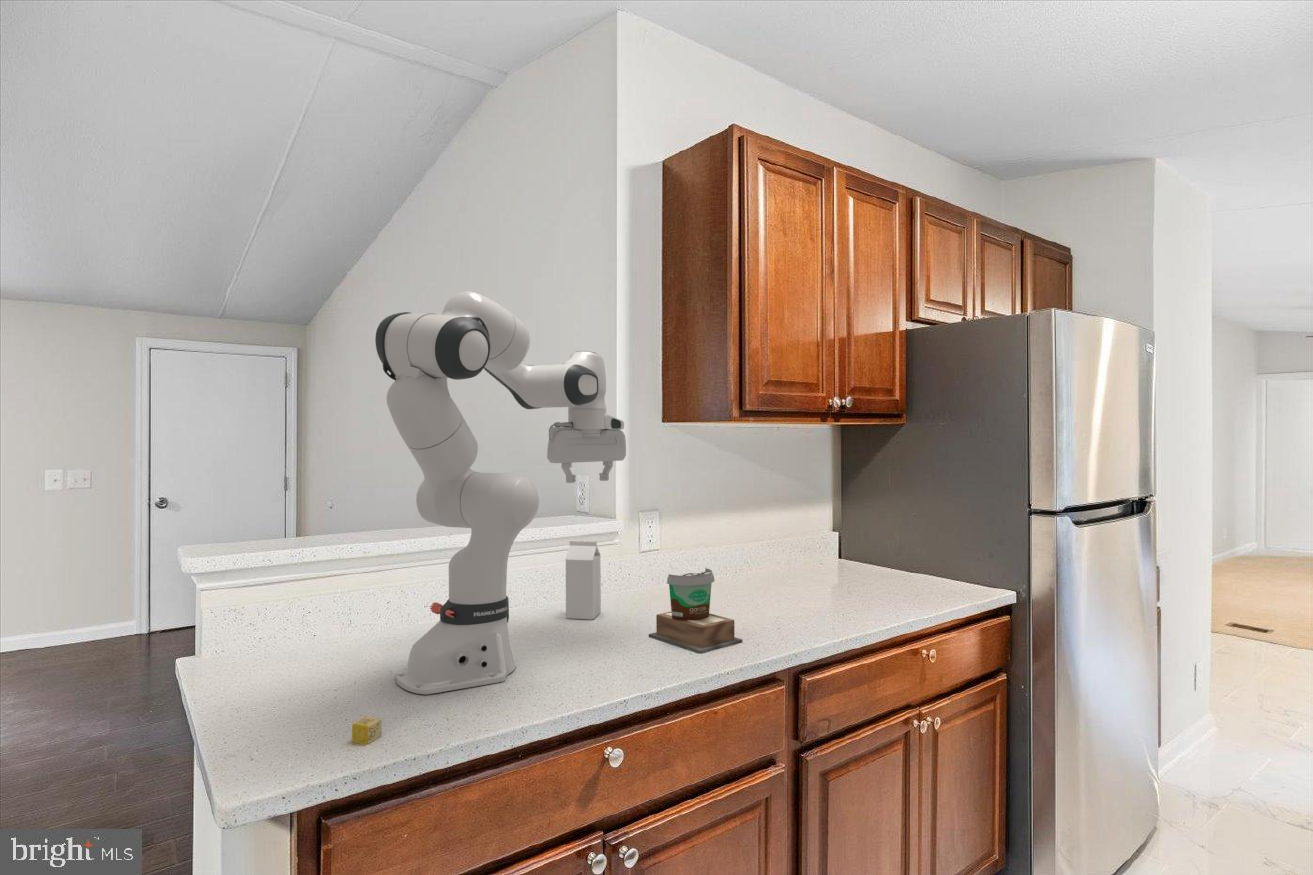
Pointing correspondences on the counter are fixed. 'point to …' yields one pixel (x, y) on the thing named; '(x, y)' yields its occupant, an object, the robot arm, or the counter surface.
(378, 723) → the alphabet block
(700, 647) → the walnut pedestal
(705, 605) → the food container
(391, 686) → the counter surface
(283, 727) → the counter surface
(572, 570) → the milk carton
